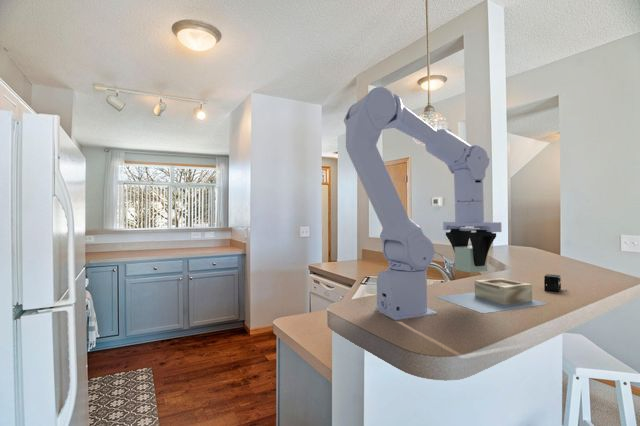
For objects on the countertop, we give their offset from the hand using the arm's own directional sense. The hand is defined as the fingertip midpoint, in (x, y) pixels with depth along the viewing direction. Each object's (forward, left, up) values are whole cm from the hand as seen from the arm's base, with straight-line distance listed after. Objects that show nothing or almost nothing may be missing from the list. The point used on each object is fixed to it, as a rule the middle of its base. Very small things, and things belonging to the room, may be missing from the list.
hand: (470, 264), depth 70 cm
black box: (+27, +1, -9) cm, 29 cm away
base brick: (+9, 0, -8) cm, 12 cm away
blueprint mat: (+5, 0, -9) cm, 10 cm away
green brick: (0, 0, -1) cm, 1 cm away
